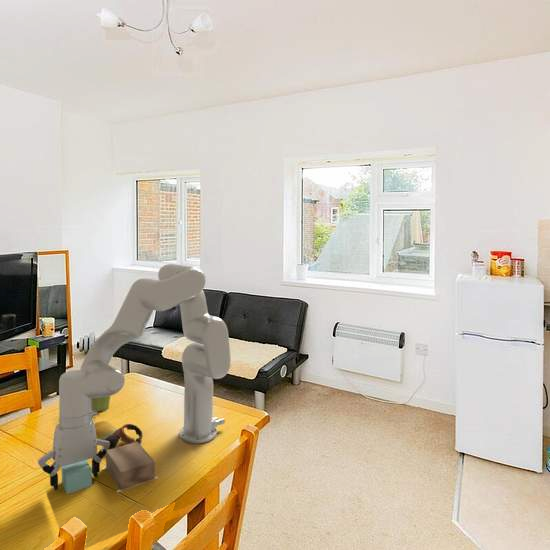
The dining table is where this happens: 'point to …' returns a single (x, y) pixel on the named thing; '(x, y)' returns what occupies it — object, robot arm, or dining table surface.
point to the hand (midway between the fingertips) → (75, 481)
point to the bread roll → (104, 429)
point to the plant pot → (100, 403)
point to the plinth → (130, 465)
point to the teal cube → (76, 476)
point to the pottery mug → (124, 436)
